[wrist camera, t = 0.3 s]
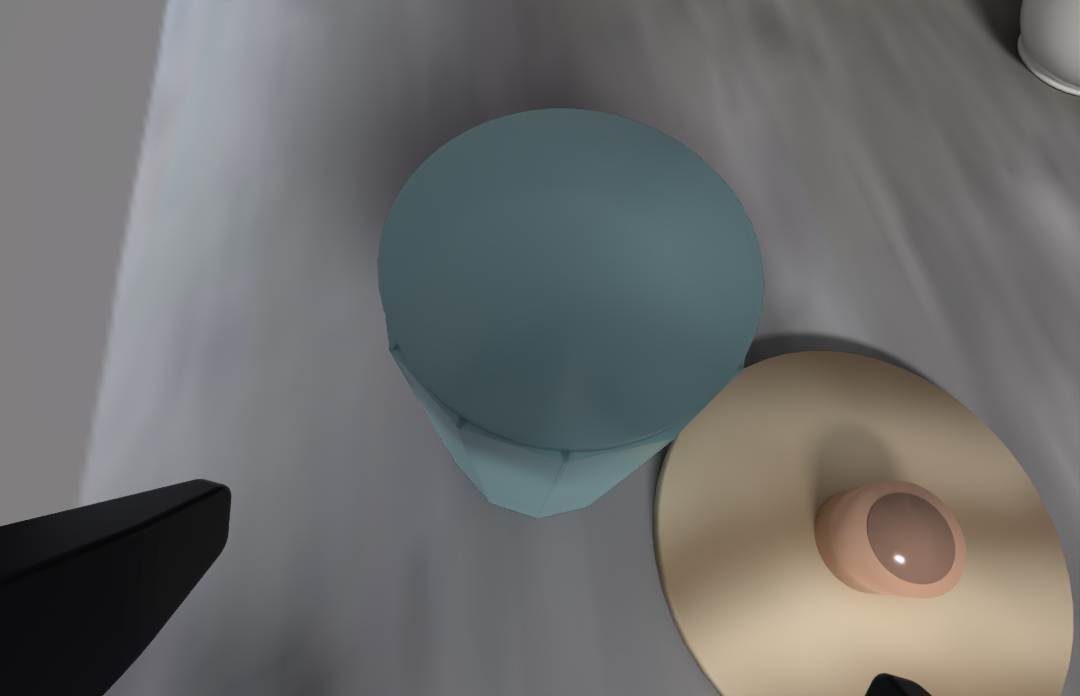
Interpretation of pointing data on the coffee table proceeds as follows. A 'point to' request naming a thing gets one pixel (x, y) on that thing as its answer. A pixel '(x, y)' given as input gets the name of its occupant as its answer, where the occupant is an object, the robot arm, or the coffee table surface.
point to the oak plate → (795, 563)
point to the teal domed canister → (566, 299)
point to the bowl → (891, 540)
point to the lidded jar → (1051, 42)
